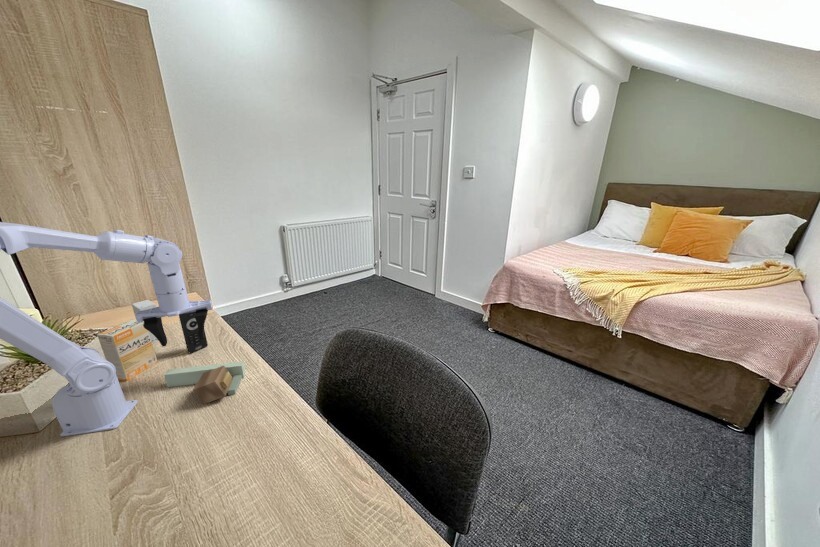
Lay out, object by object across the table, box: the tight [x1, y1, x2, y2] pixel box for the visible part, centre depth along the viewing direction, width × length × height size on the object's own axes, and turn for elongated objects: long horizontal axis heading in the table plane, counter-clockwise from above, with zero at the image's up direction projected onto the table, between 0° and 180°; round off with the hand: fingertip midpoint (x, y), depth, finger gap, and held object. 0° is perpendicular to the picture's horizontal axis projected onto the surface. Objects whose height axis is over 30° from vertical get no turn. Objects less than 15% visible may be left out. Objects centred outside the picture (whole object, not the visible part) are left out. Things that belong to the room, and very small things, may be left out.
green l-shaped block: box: [163, 360, 247, 396], centre depth 74 cm, size 17×8×4 cm, turn 103°
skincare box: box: [131, 299, 159, 344], centre depth 93 cm, size 6×4×12 cm
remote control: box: [178, 311, 208, 355], centre depth 87 cm, size 5×2×15 cm, turn 149°
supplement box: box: [96, 319, 159, 382], centre depth 78 cm, size 8×5×13 cm, turn 168°
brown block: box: [192, 366, 233, 405], centre depth 72 cm, size 4×6×6 cm
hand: (184, 340), depth 76 cm, fingers open, 7 cm apart
